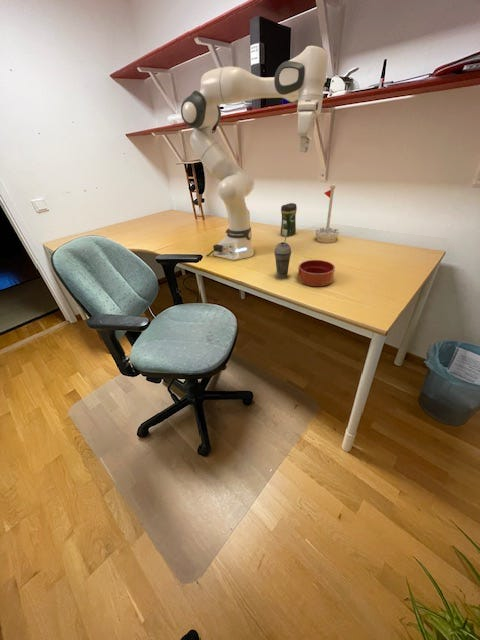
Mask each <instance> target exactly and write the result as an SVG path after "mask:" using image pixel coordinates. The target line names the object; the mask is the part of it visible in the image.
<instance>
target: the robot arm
mask: <svg viewBox="0 0 480 640" xmlns="http://www.w3.org/2000/svg"><path fill="white" fill-rule="evenodd" d="M328 63H329V60H328V52H327V50H326V49H325V48H324V47H323V46H321V45H317V44H310V45H307V46H306V47H305V48H304V49H303V50H302V52H300V53H299V54H298V55H296V56H295V57H293V58H291V59H289V60H285V61H283V62H282V63H281V64H280V65H279V66H278V67H277V69H276V70H275V74H274V76H271V77H262V76H258V75H256V74H253V73H251V72H250V71H248V70H247V69H245V68H242V67H239V66H222V67H217V68H213V69H210V70H208V71H206V72H205V73H203V75H202V76H201V78H200V89H199V90H193V91H192V93H191V94H190V95H189V96H187V97H186V98H185V99H184V100H183V101H182V102H181V106H180V116H181V119H182V121H183V123H184V124H185V125H186V126H188V127H189V128H191V129H193V131H192V133H191V134H190V137H189V143H190V145H191V148H192V150H193V151H194V153H195V155H196V156H197V158H198V159H199V160H200V162H201V163H202V164H203V166H204V167H205V169H207V170H208V172H209V173H210V174H211V175H212V177H214V178H216V179H218V180H219V181H220V182H219V184H218V186H217V193H218V196H219V197H220V199H221V201H223V203H224V206H225V209H226V212H227V218H228V228H227V229H226V230H225V234H226V236H224V237H223V238H222V239H221V240H220V241H219V242H218V244H217V243H216V244H214V245H212V247H213V250H212V251H210V252H209V253H207V254H206V257H209V256H210V255H212V254H213V253H214V254H213V255H214V257H218V258H223V259H227V260H232V261H237V260H240V259H247V258H250V257H253V256H254V254H255V251H254V248H253V243H252V227H251V216H250V215H251V214H250V210H249V209H248V207H247V204H246V200H245V199H246V197H248V196H249V195H250V194H251V193H252V192H253V191H254V188H255V181H254V178H253V176H252V175H251V174H250V173H248V172H246V170H245V171H244V169H242V167H240V166H239V164H237V163H236V162H235V161H234V160H233V159H232V158H230V156H229V154H228V153H226V151H225V150H224V149H223V147H222V146H221V145H220V143H219V142H218V140H217V139H216V138H215V137H214V135H213V134H214V133H215V132H216V130H217V127H218V126H219V123H220V121H221V118H222V110H221V107H220V105H231V104H237V103H242V102H247V101H253V100H257V99H258V100H259V99H283V100H286V101H287V102H289V103H290V104H297V107H296V114H297V136H298V137H299V138H300V139H299V152H301V153H303V154H304V153H308V151H309V145H310V142H311V141H312V140H313V137H314V131H315V124H316V123H315V121H316V120H317V117H318V115H321V113H322V108H323V99H324V87H325V84H326V79H327V73H328Z"/></svg>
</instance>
